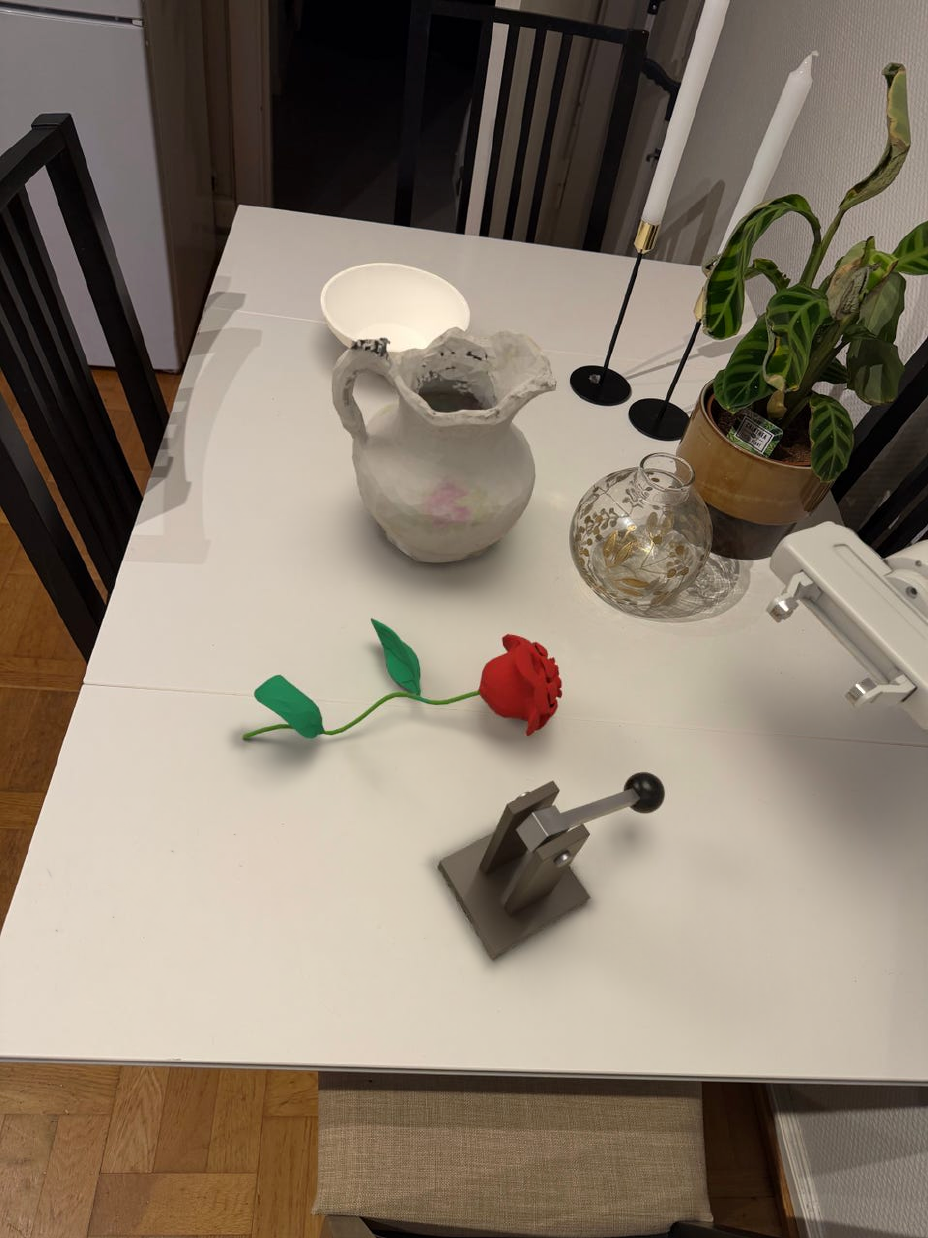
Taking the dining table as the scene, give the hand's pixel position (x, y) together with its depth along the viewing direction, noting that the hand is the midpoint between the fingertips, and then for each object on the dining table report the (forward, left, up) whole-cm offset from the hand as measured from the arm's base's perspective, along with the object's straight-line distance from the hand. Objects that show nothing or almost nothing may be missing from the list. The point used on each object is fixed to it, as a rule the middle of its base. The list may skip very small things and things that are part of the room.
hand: (813, 653), depth 71 cm
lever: (0, +19, -13) cm, 23 cm away
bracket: (0, +25, -20) cm, 32 cm away
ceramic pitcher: (+40, +11, -20) cm, 46 cm away
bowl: (+70, -1, -20) cm, 73 cm away
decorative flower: (+21, +25, -20) cm, 38 cm away
